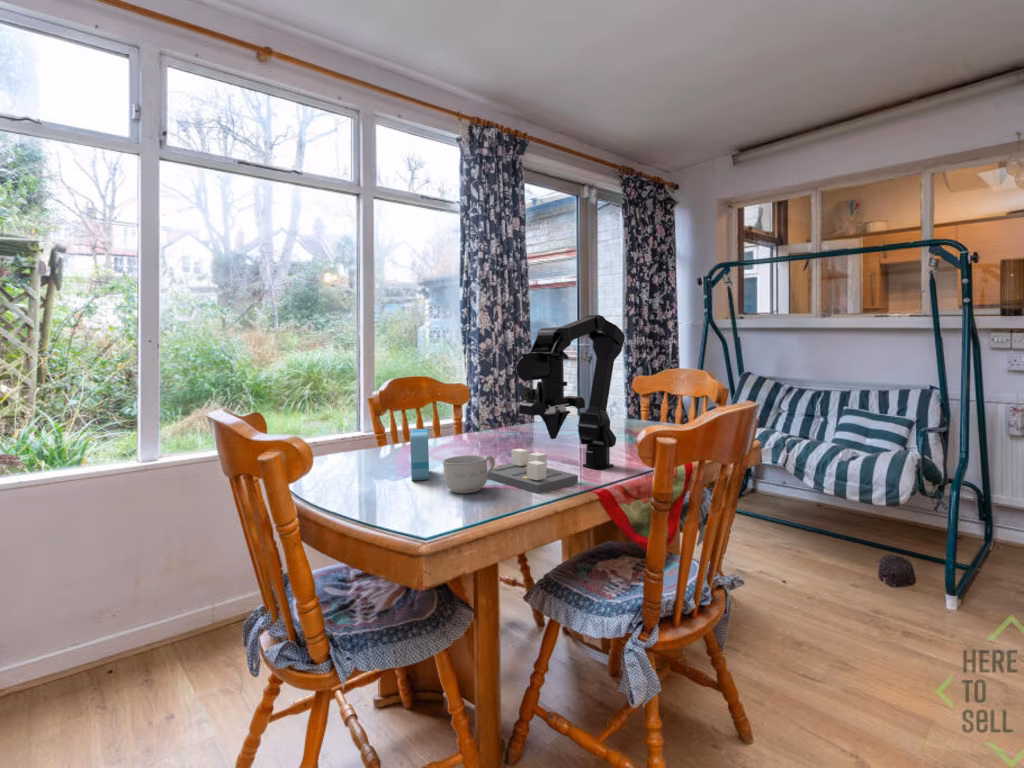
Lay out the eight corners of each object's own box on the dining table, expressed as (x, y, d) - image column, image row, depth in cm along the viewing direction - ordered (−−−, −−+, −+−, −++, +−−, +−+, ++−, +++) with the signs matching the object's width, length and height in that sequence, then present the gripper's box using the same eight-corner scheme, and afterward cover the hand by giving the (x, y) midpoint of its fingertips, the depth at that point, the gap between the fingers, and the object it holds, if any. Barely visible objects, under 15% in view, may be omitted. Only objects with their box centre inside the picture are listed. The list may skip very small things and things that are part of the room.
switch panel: (519, 468, 163) (519, 460, 162) (577, 482, 146) (577, 474, 146) (480, 476, 154) (480, 469, 153) (537, 493, 137) (537, 484, 137)
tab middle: (537, 466, 154) (537, 452, 154) (546, 468, 151) (546, 454, 151) (528, 468, 152) (528, 453, 152) (538, 470, 150) (538, 456, 149)
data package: (429, 481, 150) (427, 435, 149) (411, 482, 149) (410, 436, 148) (429, 470, 162) (427, 427, 161) (412, 471, 161) (411, 428, 160)
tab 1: (519, 462, 159) (519, 448, 159) (528, 464, 157) (528, 450, 156) (511, 463, 158) (511, 450, 157) (520, 466, 155) (520, 452, 154)
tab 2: (535, 475, 144) (535, 460, 144) (546, 478, 142) (545, 462, 141) (527, 477, 142) (526, 462, 142) (537, 480, 140) (536, 464, 139)
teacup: (453, 499, 133) (452, 465, 133) (436, 488, 143) (436, 456, 142) (507, 490, 140) (506, 458, 139) (487, 480, 149) (487, 450, 149)
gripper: (554, 373, 159) (555, 430, 160) (503, 378, 146) (504, 440, 148) (585, 375, 150) (586, 435, 152) (534, 381, 138) (535, 446, 139)
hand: (553, 438), depth 148 cm, fingers closed
